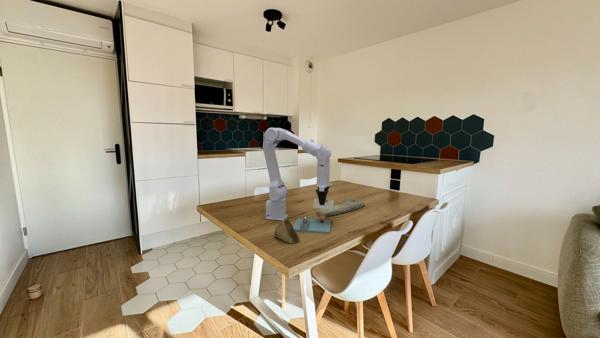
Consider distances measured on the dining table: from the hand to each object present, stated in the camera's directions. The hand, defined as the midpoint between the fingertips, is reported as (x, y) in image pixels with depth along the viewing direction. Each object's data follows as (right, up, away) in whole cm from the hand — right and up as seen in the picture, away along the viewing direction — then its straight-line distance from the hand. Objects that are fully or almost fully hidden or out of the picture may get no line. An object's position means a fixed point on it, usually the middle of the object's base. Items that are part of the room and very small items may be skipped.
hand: (322, 203), depth 117 cm
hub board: (-5, -10, -2) cm, 12 cm away
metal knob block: (-8, -10, -4) cm, 14 cm away
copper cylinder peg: (0, -10, +1) cm, 10 cm away
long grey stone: (+12, -7, +22) cm, 26 cm away
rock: (-16, -12, -16) cm, 26 cm away
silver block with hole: (0, -2, 0) cm, 2 cm away
